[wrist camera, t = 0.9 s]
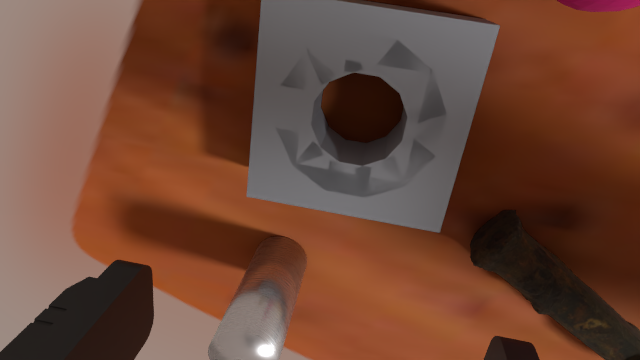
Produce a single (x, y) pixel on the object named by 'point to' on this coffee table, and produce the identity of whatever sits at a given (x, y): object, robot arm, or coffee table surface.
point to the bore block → (377, 60)
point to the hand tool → (553, 287)
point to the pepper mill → (600, 5)
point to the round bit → (262, 304)
